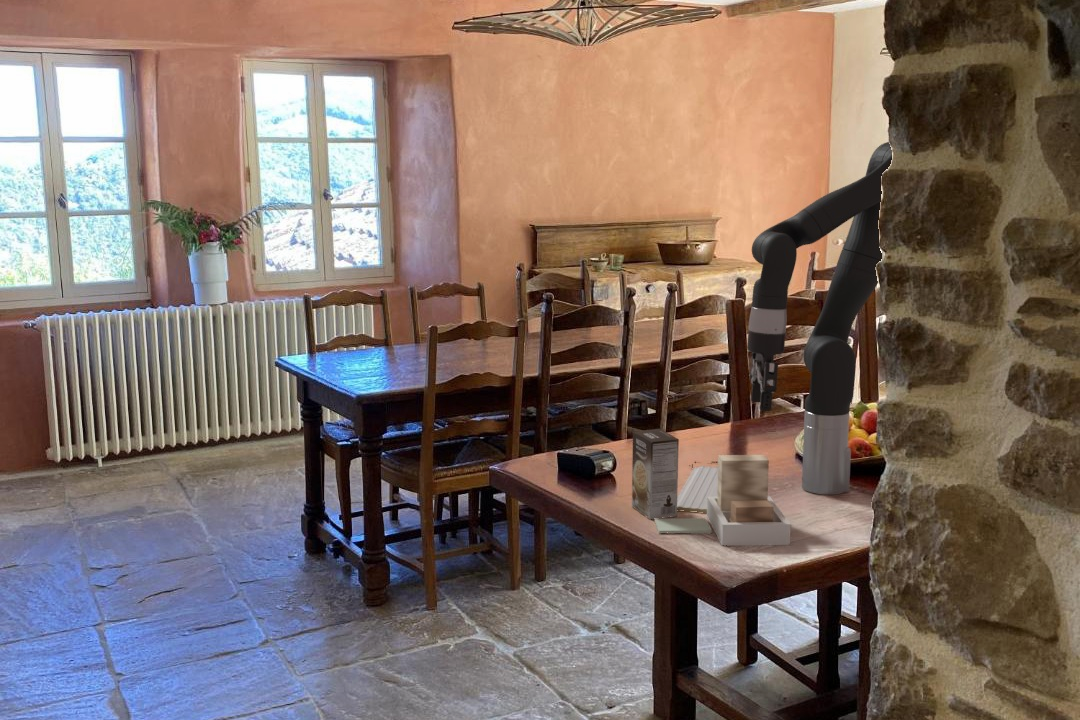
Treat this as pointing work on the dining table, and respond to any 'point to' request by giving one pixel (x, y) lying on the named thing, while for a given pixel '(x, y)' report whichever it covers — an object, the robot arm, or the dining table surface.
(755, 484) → the pale wood block
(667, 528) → the felt mat
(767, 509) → the walnut offcut upper
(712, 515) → the white open tray
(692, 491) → the baseboard molding
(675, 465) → the coffee box
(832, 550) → the dining table surface
